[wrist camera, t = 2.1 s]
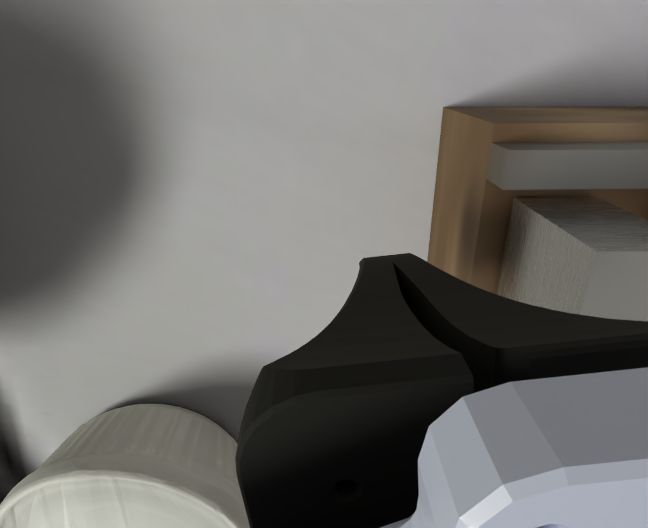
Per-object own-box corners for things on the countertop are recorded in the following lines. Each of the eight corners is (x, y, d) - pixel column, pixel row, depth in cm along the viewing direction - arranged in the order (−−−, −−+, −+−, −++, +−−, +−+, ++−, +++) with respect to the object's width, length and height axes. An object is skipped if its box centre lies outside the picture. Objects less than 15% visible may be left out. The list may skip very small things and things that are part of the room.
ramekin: (4, 429, 22) (-80, 530, 18) (198, 348, 21) (165, 434, 16) (133, 558, 27) (94, 667, 22) (303, 499, 25) (301, 603, 20)
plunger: (597, 196, 13) (712, 250, 9) (566, 318, 14) (653, 404, 11) (514, 197, 13) (596, 252, 9) (492, 319, 14) (555, 407, 11)
